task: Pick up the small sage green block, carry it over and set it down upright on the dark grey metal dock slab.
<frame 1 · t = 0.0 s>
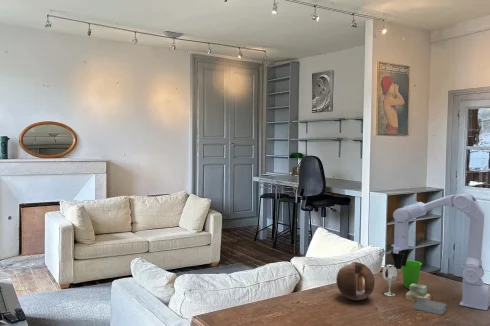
hand: (400, 267, 185), 10 cm above the table, fingers open, 6 cm apart
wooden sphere: (355, 299, 174), on the table
cup: (410, 287, 190), on the table, touching gripper
dock: (430, 308, 164), on the table
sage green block: (418, 299, 175), on the table
wineglass: (389, 294, 180), on the table
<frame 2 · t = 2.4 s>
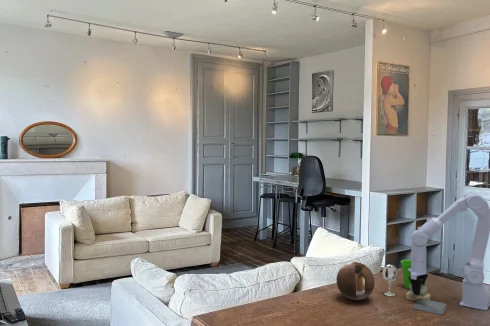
hand: (418, 292, 175), 2 cm above the table, fingers closed on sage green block, 4 cm apart
cup: (410, 287, 190), on the table
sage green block: (418, 298, 175), on the table, touching gripper
everything else where it was.
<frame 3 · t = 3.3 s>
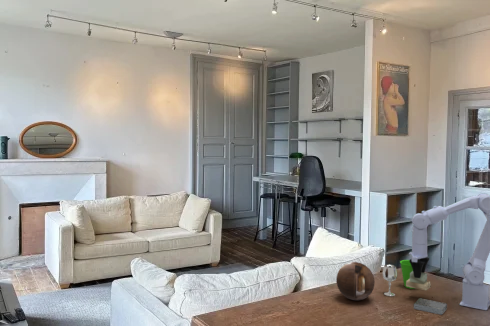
hand: (419, 276, 174), 9 cm above the table, fingers closed on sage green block, 4 cm apart
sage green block: (418, 286, 175), point 5 cm above the table, touching gripper
everything else where it was.
when the fingers open (9 cm above the table, at t = 3.6 s): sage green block drops 2 cm, resting on dock.
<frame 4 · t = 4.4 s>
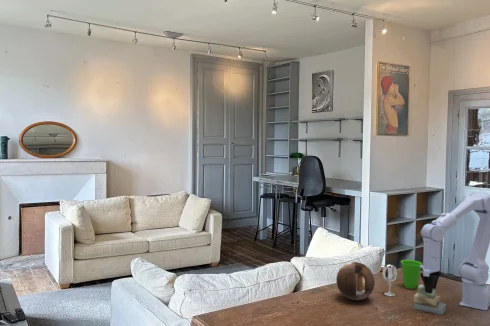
hand: (430, 291, 163), 7 cm above the table, fingers open, 4 cm apart
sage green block: (426, 301, 166), point 2 cm above the table, touching dock, gripper
everything else where it was.
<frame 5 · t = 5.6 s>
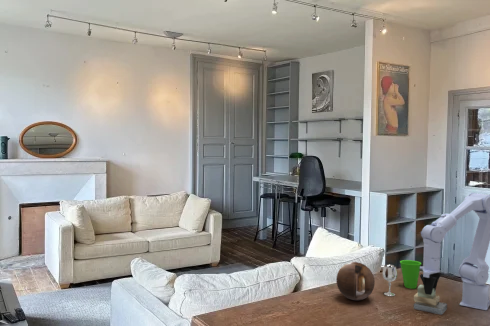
hand: (430, 292, 163), 6 cm above the table, fingers open, 5 cm apart
nothing on the table moved.
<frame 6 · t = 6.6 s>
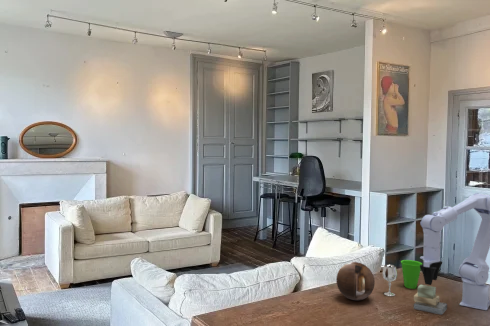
hand: (430, 282, 163), 10 cm above the table, fingers open, 7 cm apart
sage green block: (426, 301, 166), point 2 cm above the table, touching dock
everything else where it was.
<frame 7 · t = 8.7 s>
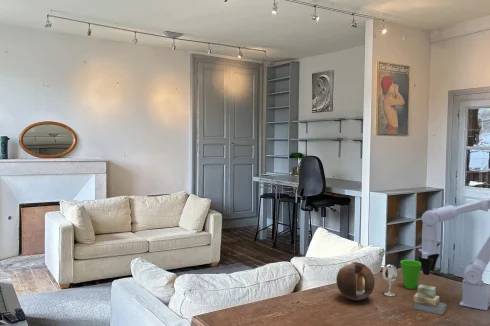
hand: (428, 272, 176), 10 cm above the table, fingers open, 7 cm apart
nothing on the table moved.
at the end: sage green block inside the target area on the dock (2.7 cm from its centre), point 2.0 cm above the dock's base; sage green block tilted 0°; the gripper is holding nothing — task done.
